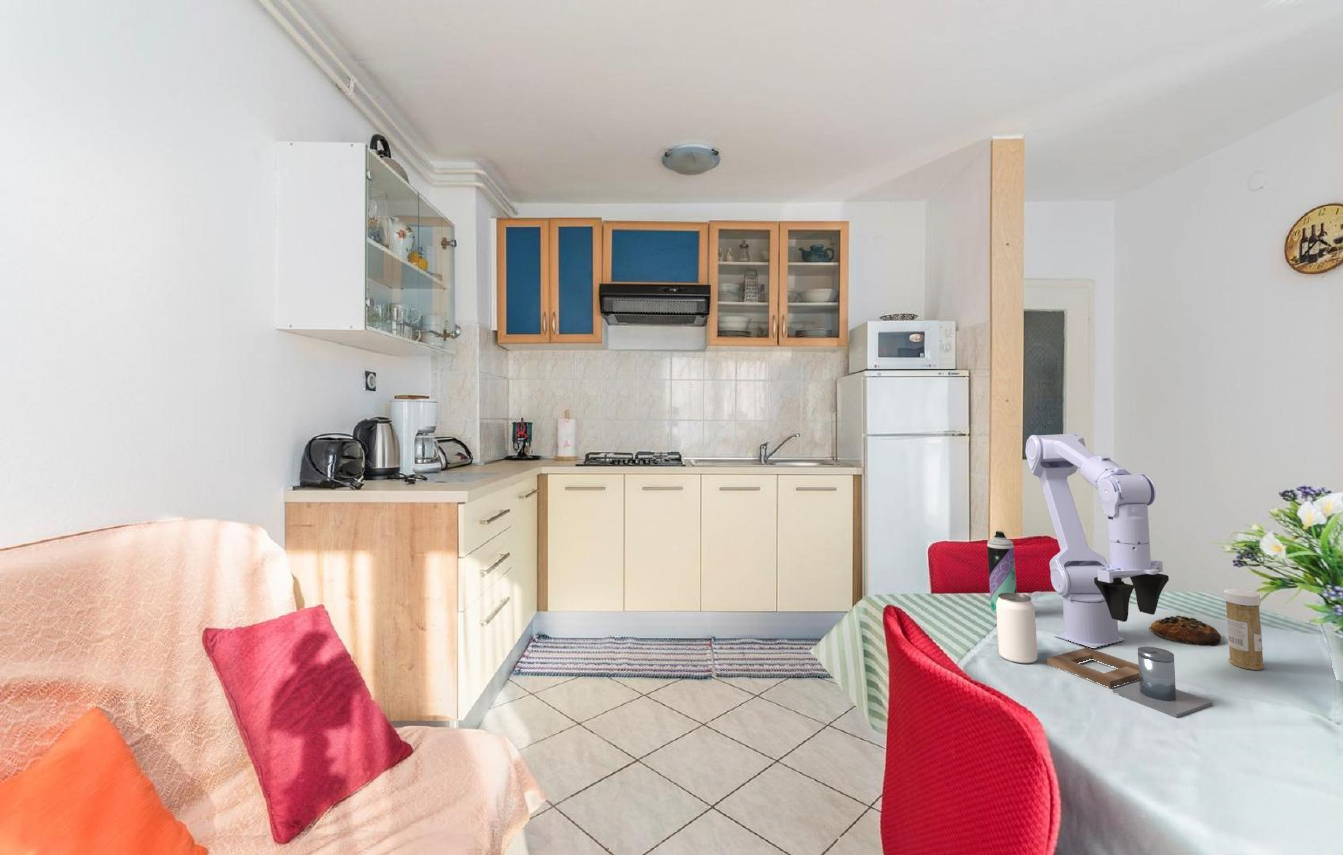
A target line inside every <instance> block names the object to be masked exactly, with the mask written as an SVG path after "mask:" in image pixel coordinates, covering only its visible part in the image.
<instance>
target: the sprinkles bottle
mask: <svg viewBox="0 0 1343 855" xmlns="http://www.w3.org/2000/svg"><path fill="white" fill-rule="evenodd" d="M1223 592H1224V594H1223V595H1224V597H1223V598H1224V601H1225V609H1226V611H1225V612H1226V630H1227V631H1226V632H1227V643H1228V649H1229V659H1228V661H1229V663H1230V664H1231V665H1233V666H1235V667H1238V668H1242V669H1244V670H1245V669H1246V670H1252V671H1260V670H1264V669H1265V664H1264V657H1263V655H1264V654H1263V648H1264V647H1263V639H1262V638H1263V637H1262V625H1261V618H1260V616H1261V615H1260V605H1261V596H1260V594H1259V593H1258V592H1255V591H1252V590H1248V589H1247V590H1246V589H1241V588H1239V589H1238V588H1227V589H1224V591H1223Z"/></svg>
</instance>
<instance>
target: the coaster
mask: <svg viewBox="0 0 1343 855" xmlns="http://www.w3.org/2000/svg"><path fill="white" fill-rule="evenodd" d="M1113 692H1114V693H1113ZM1112 693H1113V694H1115V693H1118V694H1119V695H1118V694H1117V695H1118V696H1120V695H1121V697H1123V698H1125V697H1127V698H1126V699H1128V698H1129V699H1128V700H1131V701H1134V702H1136V701H1137V702H1136V703H1139V704H1141V705H1144V706H1147V707H1149V708H1151V709H1153V710H1156V711H1157V712H1161V713H1164V714H1166V715H1169V716H1171V717H1174V718H1176V719H1177V718H1179V717H1183V716H1186V715H1189V714H1191V713H1194V712H1197V711H1199V710H1201V709H1205V708H1208V707H1210V706H1213V701H1211V700H1208V699H1206V698H1203V697H1200V696H1197V695H1194V694H1191V693H1189V692H1185V691H1183V690H1180V689H1178V688H1176V700H1173V701H1162V700H1157V699H1153V698H1150V697H1147V696H1145V695H1143V694H1142V693H1141V692H1140V684H1139V681H1134V682H1133V683H1132V682H1131V683H1128V684H1125V685H1122V686H1118V687H1115V688H1112Z"/></svg>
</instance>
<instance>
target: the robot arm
mask: <svg viewBox="0 0 1343 855" xmlns="http://www.w3.org/2000/svg"><path fill="white" fill-rule="evenodd" d="M1024 453H1025V456H1026V457H1025V458H1026V459H1027V464H1028V467H1029V470H1030V472H1031V474H1032V475H1033V476H1035V477H1037V478H1039V482H1040V485H1041V488H1042V492H1043V495H1044V500H1045V502H1046V505H1047V509H1048V512H1049V516H1050V519H1051V520H1050V521H1051V523H1052V527H1053V530H1054V532H1055V537H1056V539H1057V543H1058V547H1059V549H1060V550H1059V552H1058V553H1057V554H1055V555H1054V556H1052V558H1051V559H1050V561H1049V570H1050V581H1051V585H1052V587H1053V589H1054V590H1055V592H1057V594H1058V595H1060V596H1061V597H1062V598H1061V599H1062V612H1063V624H1064V625H1063V631H1060V632H1057V633H1054V637H1056V638H1059V639H1062V640H1065V641H1068V640H1069V641H1068V642H1070V641H1071V643H1073V642H1074V644H1076V643H1079V644H1082V645H1085V646H1089V647H1099V648H1101V646H1103V645H1106V646H1109V645H1108V644H1110V645H1112V644H1111V643H1114V644H1117V643H1120V642H1119V641H1121V642H1123V641H1124V638H1123V637H1121V636H1119V622H1118V621H1120V622H1123V623H1125V622H1127V621H1128V618H1129V605H1130V599H1131V596H1132V593H1133V591H1134V592H1135V598H1136V599H1135V600H1136V604H1137V608H1138V611H1139V612H1140V613H1144V614H1148V615H1152V616H1153V615H1155V614H1156V611H1157V608H1158V607H1157V606H1158V603H1159V600H1160V597H1161V593H1162V591H1163V590H1164V587H1165V586H1166V584H1167V583H1168V582H1169V580H1170V578H1169V575H1167V574H1164V573H1163V572H1164V567H1163V566H1164V565H1163V561H1162V560H1156V559H1151V544H1150V527H1149V526H1150V525H1149V524H1150V523H1149V507H1148V506H1151V505H1152V504H1153V503H1154V501H1155V499H1156V487H1155V484H1154V482H1153V481H1152V479H1151V478H1150V477H1149V476H1148V475H1147V474H1146V473H1144V472H1143V473H1142V472H1138V473H1131V472H1130V471H1128V470H1127V469H1125V468H1124V467H1123V466H1121V465H1119V464H1118V463H1116V462H1115V461H1113V460H1112V459H1111V457H1110V456H1108V454H1107V455H1106V454H1105V455H1104V454H1103V455H1095V454H1094V453H1093V452H1092V451H1090V449H1089V448H1087V447H1086V442H1085V438H1084V437H1083V436H1082V435H1080V434H1079V433H1076V432H1071V433H1063V434H1044V435H1043V434H1042V435H1040V434H1038V435H1036V434H1032V435H1030V436H1029V437H1028V438H1027V439H1026V443H1025V452H1024ZM1078 469H1079V470H1080V471H1079V473H1080V476H1081V477H1082V478H1083V479H1084V480H1085V481H1086V482H1087V483H1088V484H1089V485H1091V486H1092V487H1093V488H1095V489H1096V490H1097V492H1098V493H1097V494H1098V496H1099V499H1100V501H1101V504H1102V511H1103V513H1104V515H1105V516H1106V517H1107V518H1106V519H1107V533H1108V551H1109V552H1108V554H1109V563H1107V560H1106V558H1105V556H1103V555H1101V554H1100V553H1098V552H1096V551H1094V550H1092V549H1091V548H1090V547H1089V544H1088V542H1087V538H1086V534H1085V533H1084V529H1083V526H1082V523H1081V519H1080V516H1079V513H1078V510H1077V507H1076V504H1075V501H1074V498H1073V495H1072V492H1071V488H1070V485H1069V482H1068V477H1069V476H1071V475H1074V474H1075V473H1076V472H1077V471H1078ZM1126 578H1130V580H1131V581H1130V582H1131V584H1129V583H1125V581H1123V579H1126ZM1122 640H1123V641H1122ZM1116 642H1117V643H1116ZM1079 644H1078V645H1079ZM1082 645H1081V646H1082ZM1085 646H1084V647H1085ZM1103 647H1104V646H1103Z"/></svg>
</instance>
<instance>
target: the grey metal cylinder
mask: <svg viewBox="0 0 1343 855" xmlns="http://www.w3.org/2000/svg"><path fill="white" fill-rule="evenodd" d="M1137 658H1138V659H1137V661H1138V662H1137V663H1138V665H1139V680H1138V682H1139V684H1140V692H1141V693H1142V694H1143V695H1145V696H1147V697H1150V698H1153V699H1157V700H1162V701H1173V700H1176V689H1177V687H1176V686H1177V685H1176V672H1175V671H1176V667H1175V666H1176V665H1175V654H1174V652H1172V651H1169V650H1167V649H1164V648H1160V647H1155V646H1148V645H1147V646H1146V645H1145V646H1139V647H1138V648H1137Z"/></svg>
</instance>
